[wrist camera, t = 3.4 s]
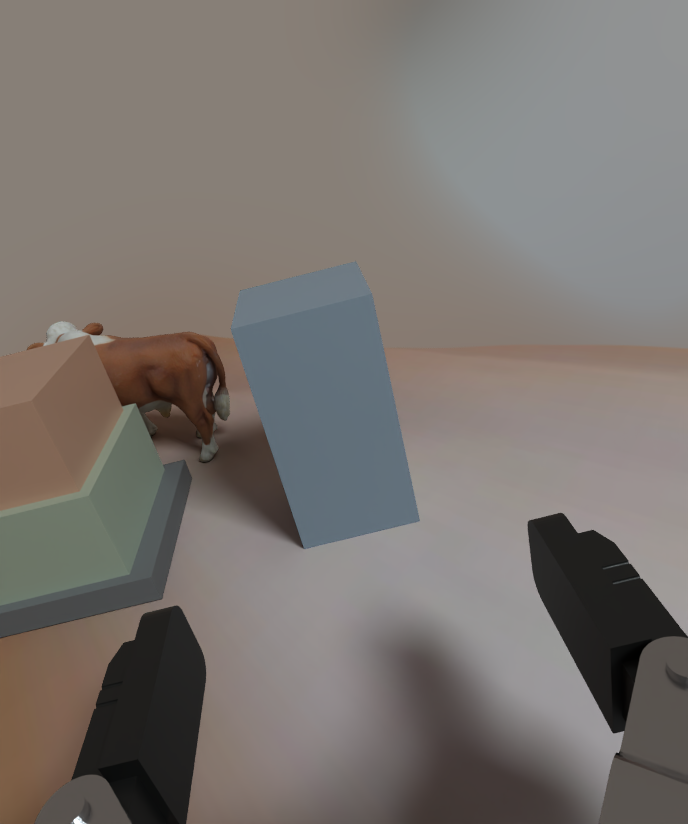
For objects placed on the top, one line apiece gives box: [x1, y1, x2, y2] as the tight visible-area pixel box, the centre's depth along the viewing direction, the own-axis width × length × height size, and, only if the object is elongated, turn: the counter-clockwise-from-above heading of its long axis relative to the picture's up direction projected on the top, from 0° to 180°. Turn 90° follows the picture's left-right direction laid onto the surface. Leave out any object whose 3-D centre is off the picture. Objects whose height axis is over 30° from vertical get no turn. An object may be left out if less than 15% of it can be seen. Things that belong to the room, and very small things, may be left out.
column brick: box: [231, 262, 420, 549], centre depth 25 cm, size 5×5×10 cm
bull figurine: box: [27, 321, 230, 462], centre depth 35 cm, size 4×13×8 cm, turn 63°
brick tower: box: [0, 335, 192, 638], centre depth 26 cm, size 11×9×9 cm
